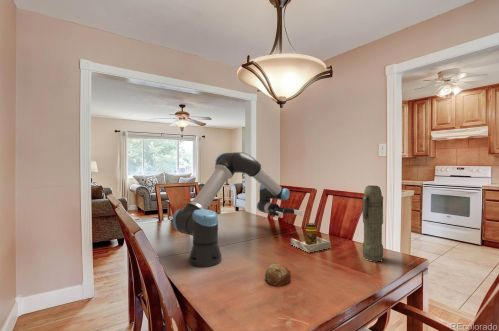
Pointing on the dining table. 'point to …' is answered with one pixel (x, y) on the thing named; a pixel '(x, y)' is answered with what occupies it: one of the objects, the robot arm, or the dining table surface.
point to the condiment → (311, 234)
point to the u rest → (311, 248)
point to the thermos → (372, 223)
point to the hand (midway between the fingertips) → (292, 214)
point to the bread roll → (277, 274)
